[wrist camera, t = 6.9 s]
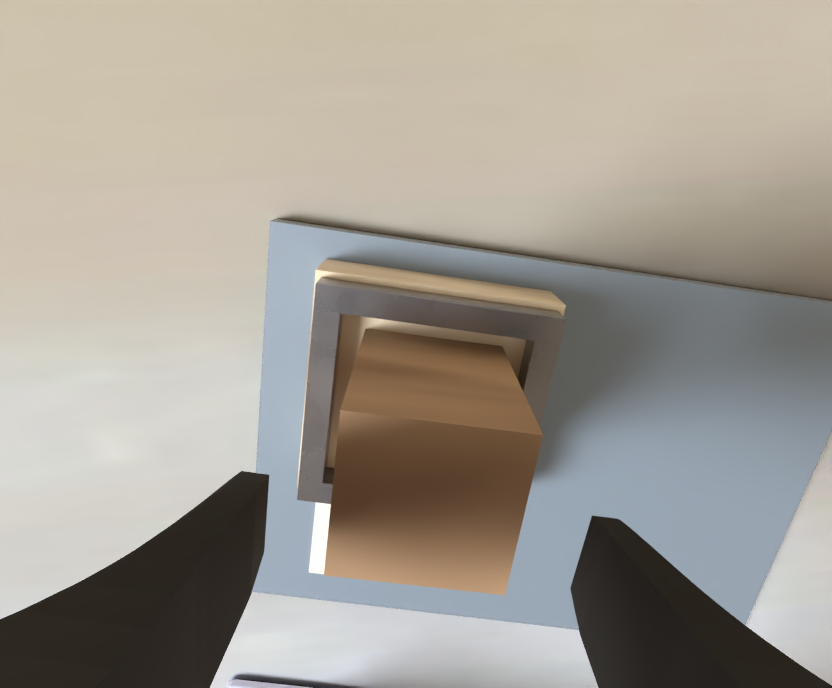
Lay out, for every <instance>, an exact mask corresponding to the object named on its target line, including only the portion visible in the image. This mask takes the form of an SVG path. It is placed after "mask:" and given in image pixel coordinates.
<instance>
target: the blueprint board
mask: <svg viewBox="0 0 832 688" xmlns="http://www.w3.org/2000/svg"><path fill="white" fill-rule="evenodd" d="M365 328H366V329H373V330H381V331H389V332H397V333H404V334H412V335H420V336H427V337H435V338H443V339H451V340H458V341H466V342H474V343H481V344H489V345H497V346H502V347H503V349H504V351H505V353H506V355H507V358H508V360H509V362H510V364H511V366H512V368H513V371H514V373H515V375H516V377H517V379H518V381H519V384H520V386H521V388H522V390H523V392H524V394H525V397H526V399H527V401H528V403H529V405H530V407H531V410H532V412H533V414H534V416H535V418H536V421H537V423H538V425H539V427H540V429H541V431H542V434H543V438H542V442H541V447H540V451H539V455H538V459H537V463H536V468H535V472H534V476H533V480H532V484H531V489H530V493H529V497H528V501H527V505H526V509H525V514H524V518H523V522H522V526H521V530H520V535H519V539H518V543H517V547H516V551H515V555H514V560H513V564H512V568H511V572H510V576H509V581H508V585H507V589H506V593H505V595H497V594H488V593H479V592H470V591H461V590H452V589H443V588H434V587H425V586H415V585H406V584H397V583H388V582H379V581H370V580H361V579H352V578H343V577H334V576H325V575H324V569H325V558H326V548H327V538H328V528H329V518H330V508H331V498H332V488H333V477H334V467H335V457H336V447H337V437H338V427H339V417H340V409H341V406H342V403H343V399H344V396H345V393H346V390H347V386H348V383H349V380H350V377H351V374H352V370H353V367H354V364H355V361H356V357H357V354H358V351H359V348H360V345H361V341H362V338H363V335H364V332H365ZM831 431H832V301H829V300H823V299H816V298H809V297H802V296H795V295H789V294H782V293H775V292H768V291H762V290H755V289H748V288H741V287H735V286H728V285H721V284H714V283H708V282H701V281H694V280H687V279H680V278H674V277H667V276H660V275H653V274H647V273H640V272H633V271H626V270H620V269H613V268H606V267H599V266H593V265H586V264H579V263H572V262H565V261H559V260H552V259H545V258H538V257H532V256H525V255H518V254H511V253H505V252H498V251H491V250H484V249H478V248H471V247H464V246H457V245H450V244H444V243H437V242H430V241H423V240H417V239H410V238H403V237H396V236H390V235H383V234H376V233H369V232H363V231H356V230H349V229H342V228H335V227H329V226H322V225H315V224H308V223H302V222H295V221H288V220H281V219H274V220H271V221H270V230H269V248H268V266H267V284H266V301H265V319H264V337H263V355H262V373H261V390H260V408H259V426H258V444H257V461H256V473H259V474H267V475H269V488H268V503H267V519H266V534H265V549H264V554H263V558H262V561H261V564H260V567H259V571H258V574H257V577H256V580H255V583H254V586H253V589H252V592H258V593H267V594H275V595H284V596H292V597H301V598H310V599H318V600H327V601H335V602H344V603H353V604H361V605H370V606H378V607H387V608H396V609H404V610H413V611H421V612H430V613H438V614H447V615H456V616H464V617H473V618H481V619H490V620H499V621H507V622H516V623H524V624H533V625H542V626H550V627H559V628H567V629H576V630H579V627H578V623H577V618H576V614H575V609H574V604H573V599H572V594H571V589H570V587H571V584H572V581H573V577H574V574H575V571H576V567H577V564H578V561H579V557H580V554H581V551H582V547H583V544H584V541H585V537H586V534H587V531H588V527H589V524H590V521H591V517H592V515H593V516H601V517H608V518H616V519H620V520H621V521H622V522H624V523H625V524H626V525H627V526H629V527H630V528H631V529H632V530H633V531H635V532H636V533H637V534H638V535H639V536H640V537H641V538H643V539H644V540H645V541H646V542H647V543H648V544H649V545H651V546H652V547H653V548H654V549H655V550H656V551H657V552H658V553H660V554H661V555H662V556H663V557H664V558H665V559H666V560H667V561H669V562H670V563H671V564H672V565H673V566H674V567H675V568H676V569H678V570H679V571H680V572H681V573H682V574H683V575H684V576H686V577H687V578H688V579H689V580H690V581H691V582H693V583H694V584H695V585H696V586H697V587H698V588H700V589H701V590H702V591H703V592H704V593H706V594H707V595H708V596H709V597H710V598H711V599H713V600H714V601H715V602H716V603H718V604H719V605H720V606H721V607H723V608H724V609H725V610H726V611H728V612H729V613H730V614H731V615H733V616H734V617H735V618H736V619H738V620H739V621H740V622H741V623H743V624H744V625H745V624H746V621H747V619H748V617H749V615H750V612H751V610H752V608H753V606H754V603H755V601H756V599H757V597H758V594H759V592H760V590H761V588H762V586H763V583H764V581H765V579H766V577H767V574H768V572H769V570H770V568H771V565H772V563H773V561H774V559H775V556H776V554H777V552H778V550H779V547H780V545H781V543H782V541H783V538H784V536H785V534H786V532H787V529H788V527H789V525H790V523H791V521H792V518H793V516H794V514H795V512H796V509H797V507H798V505H799V503H800V500H801V498H802V496H803V494H804V491H805V489H806V487H807V485H808V482H809V480H810V478H811V476H812V473H813V471H814V469H815V467H816V464H817V462H818V460H819V458H820V456H821V453H822V451H823V449H824V447H825V444H826V442H827V440H828V438H829V435H830V433H831Z"/></svg>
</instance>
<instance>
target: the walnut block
mask: <svg viewBox="0 0 832 688" xmlns="http://www.w3.org/2000/svg"><path fill="white" fill-rule="evenodd" d="M542 438H543V434H542V431H541V429H540V427H539V425H538V423H537V421H536V418H535V416H534V414H533V412H532V410H531V407H530V405H529V403H528V401H527V399H526V397H525V394H524V392H523V390H522V388H521V386H520V384H519V381H518V379H517V377H516V375H515V373H514V371H513V368H512V366H511V364H510V362H509V360H508V358H507V355H506V353H505V351H504V349H503V347H502V346H497V345H489V344H481V343H474V342H466V341H458V340H451V339H443V338H435V337H427V336H420V335H412V334H404V333H397V332H389V331H381V330H373V329H366V328H365V332H364V335H363V338H362V341H361V345H360V348H359V351H358V354H357V357H356V361H355V364H354V367H353V370H352V374H351V377H350V380H349V383H348V386H347V390H346V393H345V396H344V399H343V403H342V406H341V409H340V417H339V427H338V437H337V447H336V457H335V467H334V477H333V488H332V498H331V508H330V518H329V528H328V538H327V548H326V558H325V569H324V575H325V576H334V577H343V578H352V579H361V580H370V581H379V582H388V583H397V584H406V585H415V586H425V587H434V588H443V589H452V590H461V591H470V592H479V593H488V594H497V595H505V593H506V589H507V585H508V581H509V576H510V572H511V568H512V564H513V560H514V555H515V551H516V547H517V543H518V539H519V535H520V530H521V526H522V522H523V518H524V514H525V509H526V505H527V501H528V497H529V493H530V489H531V484H532V480H533V476H534V472H535V468H536V463H537V459H538V455H539V451H540V447H541V442H542Z"/></svg>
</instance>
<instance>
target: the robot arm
mask: <svg viewBox="0 0 832 688" xmlns="http://www.w3.org/2000/svg"><path fill="white" fill-rule="evenodd" d="M268 488H269V475H267V474H259V473H252V472H244V471H241V472H240V473H238V474H237V475H236V476H234V477H233V478H232V479H230V480H229V481H228V482H227V483H225V484H224V485H223V486H222V487H220V488H219V489H218V490H217V491H215V492H214V493H213V494H212V495H210V496H209V497H208V498H207V499H205V500H204V501H203V502H201V503H200V504H199V505H198V506H196V507H195V508H194V509H192V510H191V511H190V512H188V513H187V514H186V515H184V516H183V517H182V518H180V519H179V520H178V521H176V522H175V523H174V524H172V525H171V526H170V527H168V528H167V529H165V530H164V531H162V532H161V533H159V534H158V535H156V536H155V537H154V538H152V539H151V540H149V541H148V542H146V543H145V544H143V545H142V546H140V547H139V548H137V549H136V550H134V551H133V552H131V553H130V554H128V555H126V556H125V557H123V558H121V559H120V560H118V561H116V562H115V563H113V564H111V565H109V566H108V567H106V568H104V569H102V570H100V571H99V572H97V573H95V574H93V575H92V576H90V577H88V578H86V579H84V580H82V581H81V582H79V583H77V584H75V585H73V586H71V587H69V588H66V589H64V590H62V591H60V592H58V593H56V594H54V595H52V596H50V597H48V598H46V599H44V600H42V601H40V602H38V603H36V604H33V605H31V606H29V607H27V608H25V609H23V610H21V611H19V612H16V613H14V614H12V615H9V616H7V617H5V618H2V619H0V688H210V685H211V683H212V681H213V679H214V677H215V674H216V672H217V670H218V668H219V665H220V663H221V661H222V659H223V656H224V654H225V652H226V650H227V648H228V645H229V643H230V641H231V639H232V636H233V634H234V632H235V630H236V627H237V625H238V623H239V621H240V618H241V616H242V614H243V612H244V609H245V607H246V605H247V603H248V600H249V598H250V596H251V593H252V589H253V586H254V583H255V580H256V577H257V574H258V571H259V567H260V564H261V561H262V558H263V554H264V549H265V534H266V519H267V503H268ZM570 589H571V594H572V599H573V604H574V609H575V614H576V618H577V623H578V627H579V631H580V635H581V638H582V641H583V644H584V647H585V650H586V653H587V656H588V659H589V661H590V664H591V667H592V670H593V673H594V676H595V678H596V681H597V684H598V687H599V688H832V686H831V685H830V684H828V683H827V682H825V681H823V680H822V679H820V678H819V677H817V676H816V675H814V674H813V673H811V672H810V671H808V670H807V669H805V668H804V667H802V666H801V665H799V664H798V663H796V662H795V661H793V660H792V659H791V658H789V657H788V656H786V655H785V654H784V653H782V652H781V651H779V650H778V649H777V648H775V647H774V646H772V645H771V644H769V643H768V642H767V641H765V640H764V639H762V638H761V637H760V636H758V635H757V634H756V633H754V632H753V631H752V630H750V629H749V628H748V627H746V626H745V625H744V624H743V623H741V622H740V621H739V620H738V619H736V618H735V617H734V616H733V615H731V614H730V613H729V612H728V611H726V610H725V609H724V608H723V607H721V606H720V605H719V604H718V603H716V602H715V601H714V600H713V599H711V598H710V597H709V596H708V595H707V594H706V593H704V592H703V591H702V590H701V589H700V588H698V587H697V586H696V585H695V584H694V583H693V582H691V581H690V580H689V579H688V578H687V577H686V576H684V575H683V574H682V573H681V572H680V571H679V570H678V569H676V568H675V567H674V566H673V565H672V564H671V563H670V562H669V561H667V560H666V559H665V558H664V557H663V556H662V555H661V554H660V553H658V552H657V551H656V550H655V549H654V548H653V547H652V546H651V545H649V544H648V543H647V542H646V541H645V540H644V539H643V538H641V537H640V536H639V535H638V534H637V533H636V532H635V531H633V530H632V529H631V528H630V527H629V526H627V525H626V524H625V523H624V522H622V521H621V520H620V519H616V518H608V517H601V516H593V515H592V517H591V521H590V524H589V527H588V531H587V534H586V537H585V541H584V544H583V547H582V551H581V554H580V557H579V561H578V564H577V567H576V571H575V574H574V577H573V581H572V584H571V587H570ZM225 688H311V687H302V686H293V685H284V684H274V683H265V682H256V681H247V680H238V679H235V680H231V681H229V682H228V683H227V684H226V687H225Z"/></svg>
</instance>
